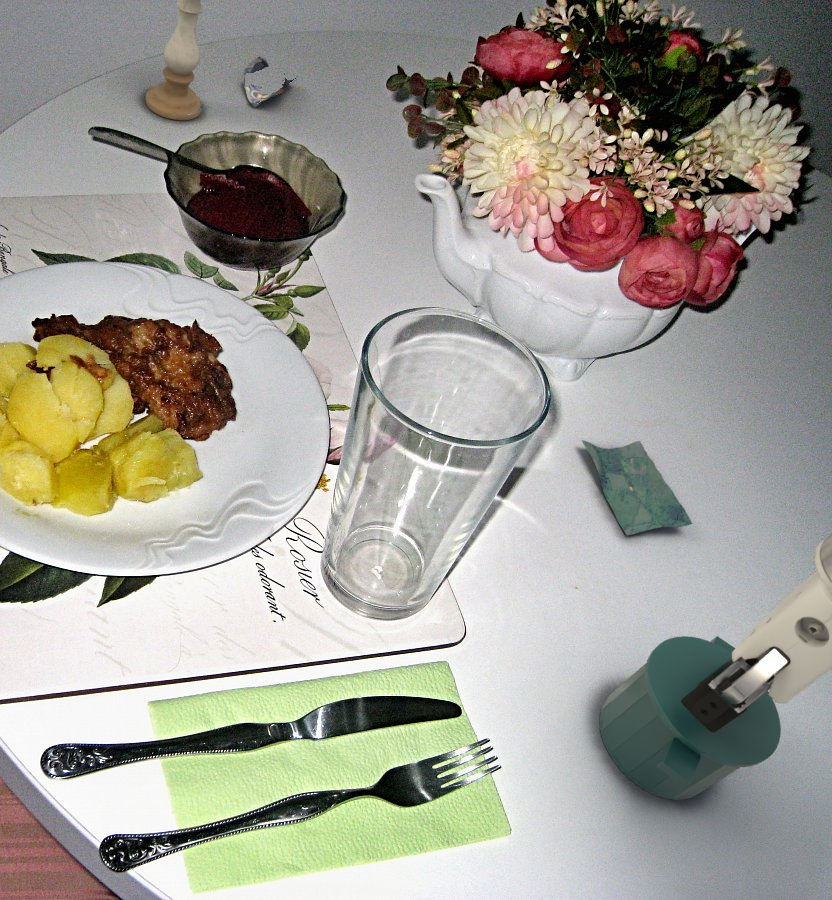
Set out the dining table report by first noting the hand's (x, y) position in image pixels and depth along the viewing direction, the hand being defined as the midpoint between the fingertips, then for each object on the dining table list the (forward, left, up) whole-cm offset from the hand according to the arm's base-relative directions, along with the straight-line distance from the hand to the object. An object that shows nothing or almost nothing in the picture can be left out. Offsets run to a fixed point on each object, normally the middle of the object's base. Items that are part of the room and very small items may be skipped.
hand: (727, 687), depth 73 cm
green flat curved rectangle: (+20, -24, -11) cm, 33 cm away
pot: (0, 0, -11) cm, 11 cm away
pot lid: (0, 0, -2) cm, 2 cm away
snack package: (+107, -38, -11) cm, 114 cm away
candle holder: (+107, -20, -11) cm, 109 cm away
